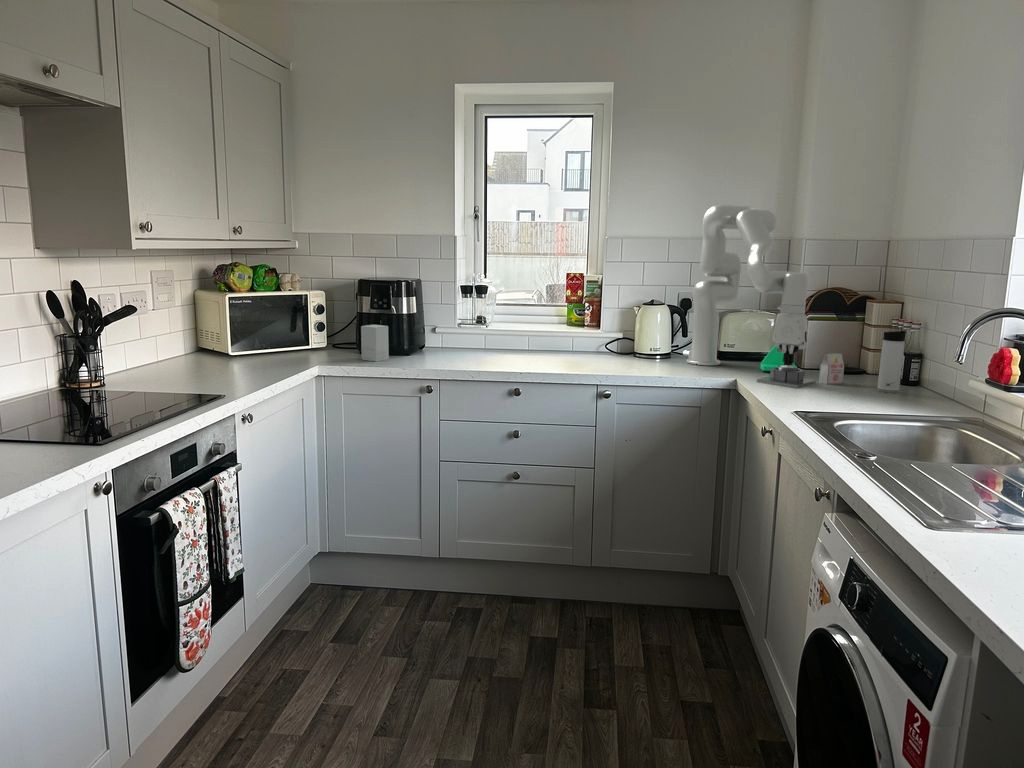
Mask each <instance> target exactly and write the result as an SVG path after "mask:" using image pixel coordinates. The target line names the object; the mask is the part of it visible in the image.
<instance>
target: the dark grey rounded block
mask: <svg viewBox="0 0 1024 768" xmlns="http://www.w3.org/2000/svg"><path fill="white" fill-rule="evenodd" d="M797 368H798V367H797V366H796V367H793V366H786V365H783V366H778V370H781V371H797Z"/></svg>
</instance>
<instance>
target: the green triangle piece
mask: <svg viewBox="0 0 1024 768" xmlns="http://www.w3.org/2000/svg"><path fill="white" fill-rule="evenodd" d="M778 349H780V347H777V346H775V345H774V344H773V346H772V348H771V349H770V350H769V351H768V353H766V356H765V357H764V358H763V360H762V361H761V362H760V367H759V368H760V369H761V371H767V372H770V370H771V368H773V367H778V366H783V365H784V362H783V356H784V353H783V352H782V350H781V351H778ZM786 366H787V365H786ZM790 366H793V367H797V365H796V364H795V361H794V362H793V364H792V365H790Z"/></svg>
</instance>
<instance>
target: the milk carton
mask: <svg viewBox="0 0 1024 768" xmlns="http://www.w3.org/2000/svg"><path fill="white" fill-rule="evenodd" d="M819 367H820V368H819V377H818V383H819V384H822V383H823V384H824V385H826V384H827V385H841V383H842V384H844V382H843V381H844V373H845V371H844V370H845V364H844V360H843V353H826V354H824V357H823V359H822V361H821V363H820V365H819Z"/></svg>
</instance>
